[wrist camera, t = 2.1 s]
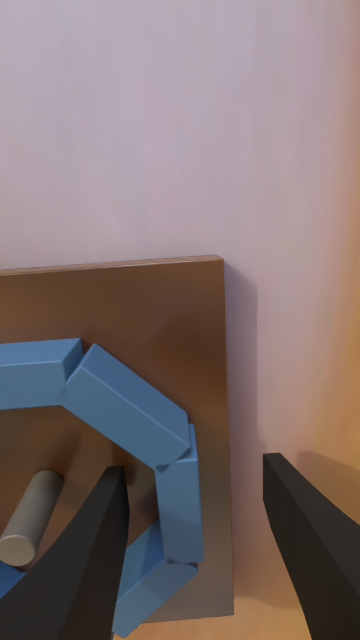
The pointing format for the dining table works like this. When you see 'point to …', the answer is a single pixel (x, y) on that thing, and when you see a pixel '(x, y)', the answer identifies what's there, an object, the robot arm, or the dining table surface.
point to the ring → (136, 438)
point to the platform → (93, 447)
